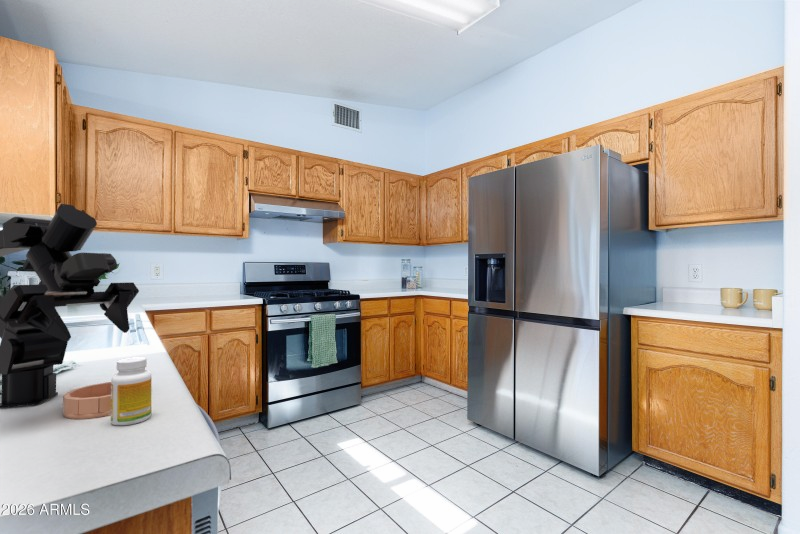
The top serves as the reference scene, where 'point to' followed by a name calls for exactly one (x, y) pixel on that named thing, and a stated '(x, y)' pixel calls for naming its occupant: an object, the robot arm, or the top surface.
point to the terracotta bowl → (88, 402)
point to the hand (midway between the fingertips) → (99, 334)
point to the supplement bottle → (131, 392)
